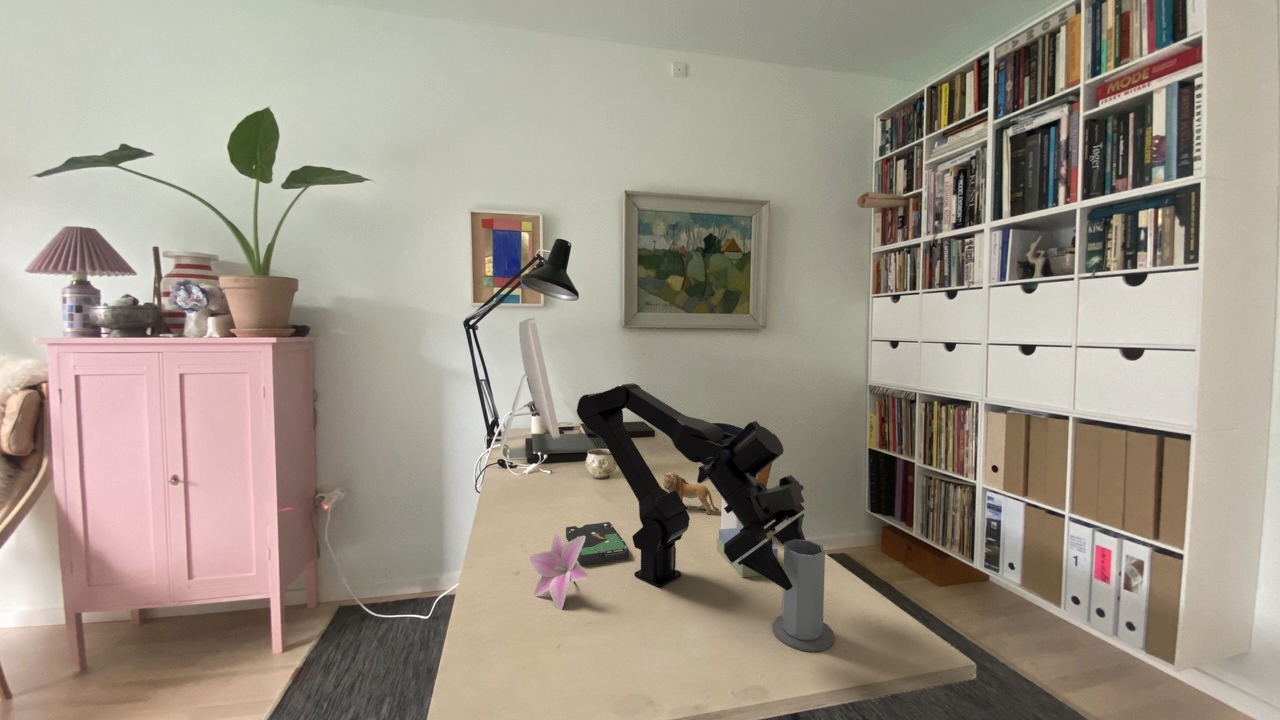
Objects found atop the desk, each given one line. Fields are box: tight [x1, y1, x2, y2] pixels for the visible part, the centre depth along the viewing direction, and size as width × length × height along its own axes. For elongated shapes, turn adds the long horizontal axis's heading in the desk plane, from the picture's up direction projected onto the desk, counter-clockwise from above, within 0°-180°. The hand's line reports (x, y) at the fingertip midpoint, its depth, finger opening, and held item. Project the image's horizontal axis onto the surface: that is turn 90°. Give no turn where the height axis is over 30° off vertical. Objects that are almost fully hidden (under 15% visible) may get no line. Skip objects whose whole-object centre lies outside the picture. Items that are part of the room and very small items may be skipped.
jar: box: [720, 475, 760, 530], centre depth 114 cm, size 9×8×12 cm
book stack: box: [716, 527, 782, 579], centre depth 99 cm, size 12×8×4 cm, turn 14°
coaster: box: [771, 614, 835, 653], centre depth 76 cm, size 9×9×1 cm
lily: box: [527, 532, 590, 611], centre depth 87 cm, size 12×12×10 cm
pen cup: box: [781, 539, 826, 642], centre depth 76 cm, size 6×6×13 cm
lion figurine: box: [662, 472, 720, 515], centre depth 128 cm, size 15×5×9 cm, turn 73°
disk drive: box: [565, 521, 630, 567], centre depth 105 cm, size 10×3×15 cm
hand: (801, 576), depth 76 cm, fingers open, 9 cm apart
